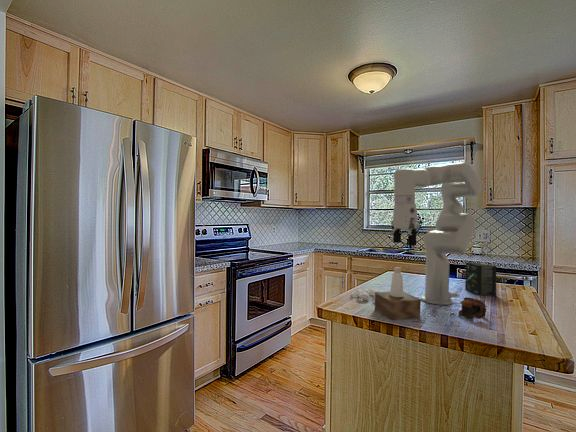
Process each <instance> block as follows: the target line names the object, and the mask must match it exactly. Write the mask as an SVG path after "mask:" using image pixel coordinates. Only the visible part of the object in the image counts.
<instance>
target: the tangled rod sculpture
mask: <svg viewBox="0 0 576 432" xmlns="http://www.w3.org/2000/svg"><path fill="white" fill-rule="evenodd" d="M374 292H381V291H380V290H377V289H375V288H369V289H367V288H363V289H356V291H353V292H351V296H356V297H358V298H359V299H362V300H363V301H364V302H367V301H369V300H373V298H374V300H375V294H374ZM372 297H373V298H372Z"/></svg>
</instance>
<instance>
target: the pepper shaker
mask: <svg viewBox="0 0 576 432" xmlns="http://www.w3.org/2000/svg"><path fill="white" fill-rule="evenodd" d="M389 292H390V296H393V297H404V292H405V291H404V283H403V273H402V267H401V266H400V267H399V266H394V267H393V273H392V277H391V283H390V290H389Z"/></svg>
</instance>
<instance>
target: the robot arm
mask: <svg viewBox="0 0 576 432" xmlns="http://www.w3.org/2000/svg"><path fill="white" fill-rule="evenodd" d="M393 174H394V179H393V182H394V183H393V184H394V187H393V189H394V190H393V193H394V195H393V197H394V199H393V200H394V202H393V204H394V207H393V212H392V213H393V214H392V217H393V218H392V220H391V221H390V225H391V229H392V234H393V241H392V242H393V243H394V244H397V243H398V244H399V243H402V233H401V231H402V230H404V231H407V233H408V235H407V246H408V247H410V246H411V247H412V246H416V245H417V236H418V233H419V230H420V226H421V224H420V222H419V221H418V219H419V218H418V210H417V209H418V208H417V204H416V203H415V202H416V201H415V199H416V198H415V197H416V194H415V193H416V189H421V188H426V187H432V186H433V187H434V186H438V185H439V186H440V185H441V187H440V192H441V197H442V201H443V207H442V209H441V210H440V213H439V215H438V217H437V219H436V222H435V229H436V230H430V231H428V232H426V234H425V235H424V237H423V243H424V252H425V281H424V283H425V284H424V286H425V287H424V295H422V296H421V297H420V299H421V301H423V302H424V303H428V304H431V305H438V306H450V305H452V304H453V300H452V298H457V297H458V296H459V295H458V293H457V292H452V291H449V289H450V260H449V258H448V256H447V255H446V254H451V255H453V254H454V255H463V254H465V253H466V252H467V250H468V249H469V246H470V243H471V240H472V239H473V235H474V233H475V230H476V225H477V224H476V219H475V217H474V215H472V214H471V213H468V212H467V213H465V212H464V207H463V205H462V204H461V202H460V201H459V200H458V199H457V198H469V197H470V198H474V197H477V196H479V195H480V194H481V192H482V188H483V187H482V186H483V185H482V182H481V180H480V178H479V177H478V175H477V173H476V172H475V170H474V169H473V167H472V166H471V165H470V163H467V162H463V161H462V162H455V163H453V162H452V163H445V164H444V163H443V164H438V165H437V164H436V165H431V166H424V167H420V168H414V169H413V168H400V169H399V168H398V169H396V170H395V171H394V173H393ZM463 212H464V213H463Z"/></svg>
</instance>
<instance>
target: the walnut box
mask: <svg viewBox="0 0 576 432" xmlns="http://www.w3.org/2000/svg"><path fill="white" fill-rule="evenodd" d="M403 292H404V297H393V296H390V291H380V292H374V294H375V299H374V311H376V312H378V313H380V314H381V315H382V316H384V317H386V319H390V320H391V321H396V320H411V319H421V303H422V300H421V298H419V297H416V296H414V295H412V294H410V293H407V292H405V291H403Z"/></svg>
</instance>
